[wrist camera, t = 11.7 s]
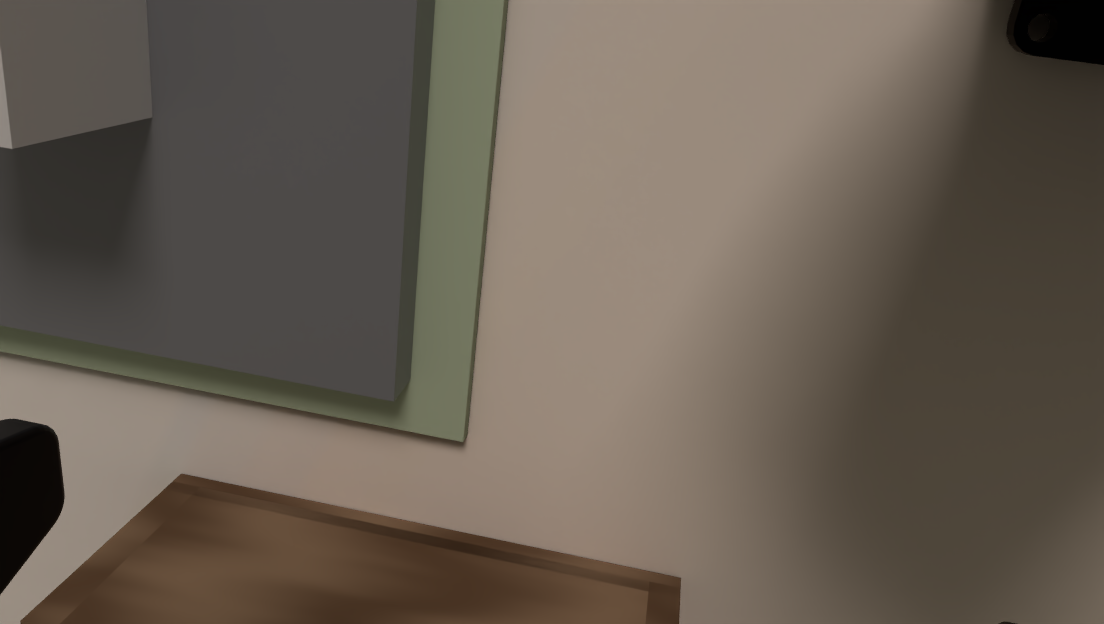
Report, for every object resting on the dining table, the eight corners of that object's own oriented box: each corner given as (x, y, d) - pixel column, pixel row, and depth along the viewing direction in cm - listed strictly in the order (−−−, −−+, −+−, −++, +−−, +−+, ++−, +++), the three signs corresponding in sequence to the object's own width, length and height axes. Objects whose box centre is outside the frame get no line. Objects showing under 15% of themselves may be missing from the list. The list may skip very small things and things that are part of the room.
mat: (550, -451, 15) (546, -463, 15) (467, 434, 22) (463, 441, 21) (-327, -513, 17) (-350, -524, 17) (-156, 313, 24) (-170, 318, 23)
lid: (459, -360, 15) (345, -520, 11) (410, 379, 21) (322, 495, 16) (-263, -423, 17) (-643, -585, 12) (-130, 277, 23) (-356, 353, 18)
